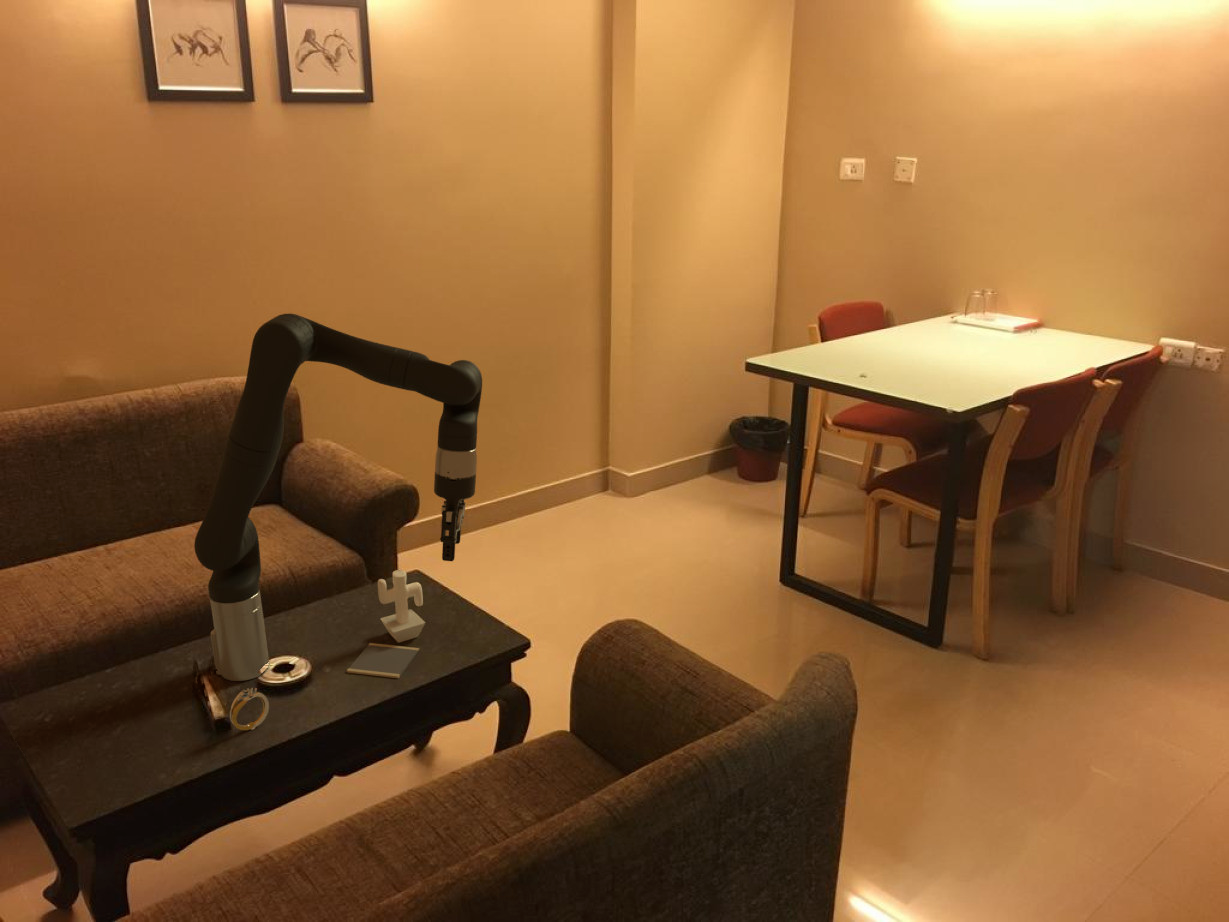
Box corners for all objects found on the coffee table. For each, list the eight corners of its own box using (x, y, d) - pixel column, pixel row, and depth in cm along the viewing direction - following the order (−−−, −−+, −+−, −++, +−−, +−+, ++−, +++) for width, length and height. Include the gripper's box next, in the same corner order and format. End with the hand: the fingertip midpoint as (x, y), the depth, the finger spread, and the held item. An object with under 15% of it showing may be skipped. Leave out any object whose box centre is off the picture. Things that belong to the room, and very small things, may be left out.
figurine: (431, 636, 210) (427, 573, 205) (390, 649, 204) (384, 584, 199) (417, 622, 215) (412, 560, 210) (376, 635, 210) (370, 572, 205)
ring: (266, 717, 181) (261, 679, 179) (274, 724, 179) (269, 687, 177) (229, 732, 177) (224, 694, 174) (237, 740, 175) (231, 701, 172)
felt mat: (346, 672, 196) (346, 670, 196) (370, 644, 206) (369, 642, 206) (398, 678, 194) (398, 676, 194) (419, 650, 204) (419, 648, 204)
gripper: (440, 456, 186) (436, 536, 191) (429, 480, 172) (425, 564, 177) (480, 460, 186) (475, 539, 191) (471, 483, 173) (466, 568, 178)
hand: (451, 551), depth 184 cm, fingers open, 8 cm apart
